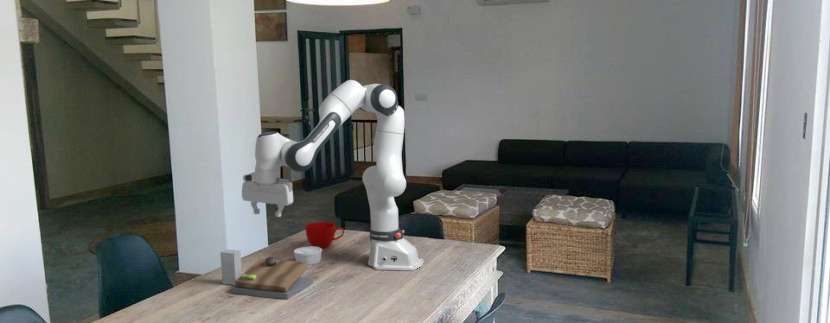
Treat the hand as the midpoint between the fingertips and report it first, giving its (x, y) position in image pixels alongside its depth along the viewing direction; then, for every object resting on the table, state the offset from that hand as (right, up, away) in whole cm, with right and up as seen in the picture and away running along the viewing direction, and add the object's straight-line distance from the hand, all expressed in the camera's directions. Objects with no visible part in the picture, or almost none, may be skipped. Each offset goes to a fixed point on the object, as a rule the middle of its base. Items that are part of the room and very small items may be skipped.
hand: (267, 215), depth 225 cm
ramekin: (+10, -22, +30) cm, 38 cm away
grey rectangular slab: (+3, -26, -2) cm, 26 cm away
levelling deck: (+3, -22, -3) cm, 22 cm away
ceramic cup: (+13, -19, +53) cm, 58 cm away
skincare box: (-14, -25, +5) cm, 29 cm away
